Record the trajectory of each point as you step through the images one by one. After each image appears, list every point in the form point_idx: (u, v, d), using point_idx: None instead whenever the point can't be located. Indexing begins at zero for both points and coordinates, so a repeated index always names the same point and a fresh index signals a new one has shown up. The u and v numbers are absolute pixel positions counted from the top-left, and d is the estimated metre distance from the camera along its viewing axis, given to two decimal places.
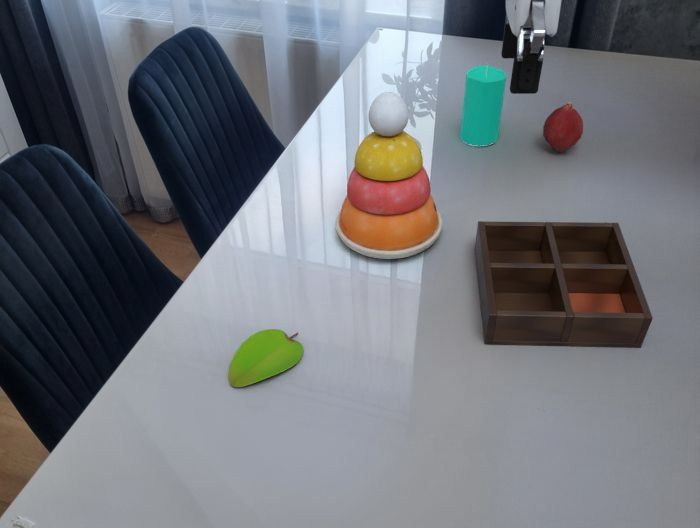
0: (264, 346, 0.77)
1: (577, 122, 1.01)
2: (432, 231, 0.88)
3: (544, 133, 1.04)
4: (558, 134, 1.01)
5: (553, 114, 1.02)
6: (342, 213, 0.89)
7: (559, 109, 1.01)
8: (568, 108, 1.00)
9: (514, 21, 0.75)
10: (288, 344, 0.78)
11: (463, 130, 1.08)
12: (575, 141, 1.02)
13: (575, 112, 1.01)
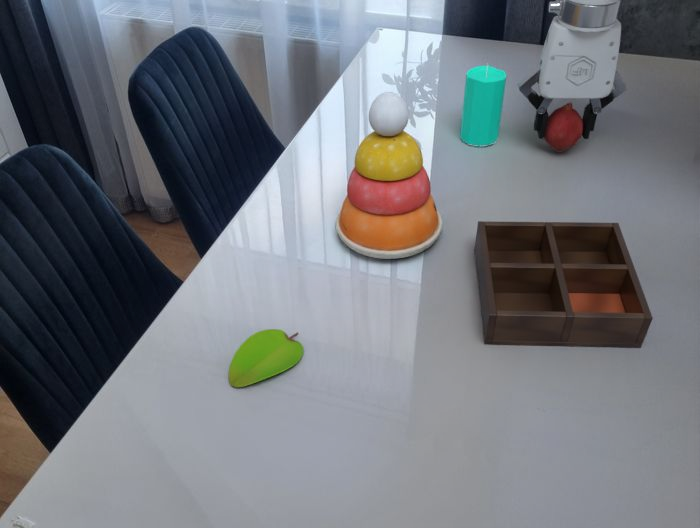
0: (264, 346, 0.77)
1: (577, 122, 1.01)
2: (432, 231, 0.88)
3: None
4: (558, 134, 1.01)
5: (553, 114, 1.02)
6: (342, 213, 0.89)
7: (559, 109, 1.01)
8: (568, 108, 1.00)
9: None
10: (288, 344, 0.78)
11: (463, 130, 1.08)
12: (575, 141, 1.02)
13: (575, 112, 1.01)
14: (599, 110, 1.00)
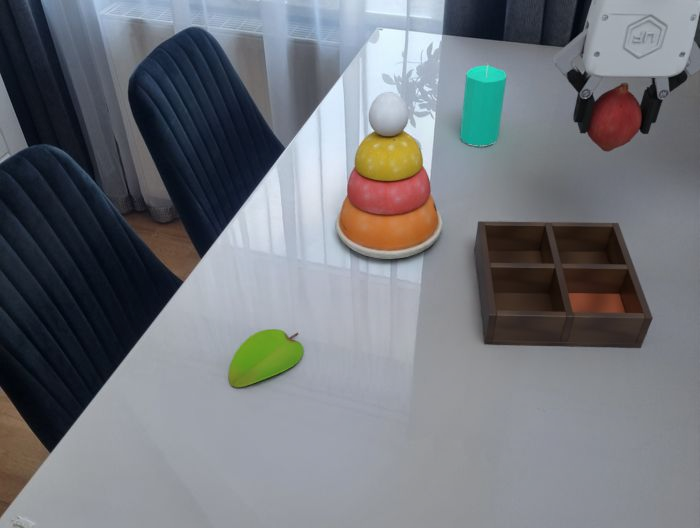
0: (264, 346, 0.77)
1: (635, 111, 0.73)
2: (432, 231, 0.88)
3: None
4: (608, 127, 0.74)
5: (601, 99, 0.74)
6: (342, 213, 0.89)
7: (609, 92, 0.74)
8: (623, 91, 0.73)
9: None
10: (288, 344, 0.78)
11: (463, 130, 1.08)
12: (630, 137, 0.75)
13: (632, 97, 0.73)
14: (666, 94, 0.72)
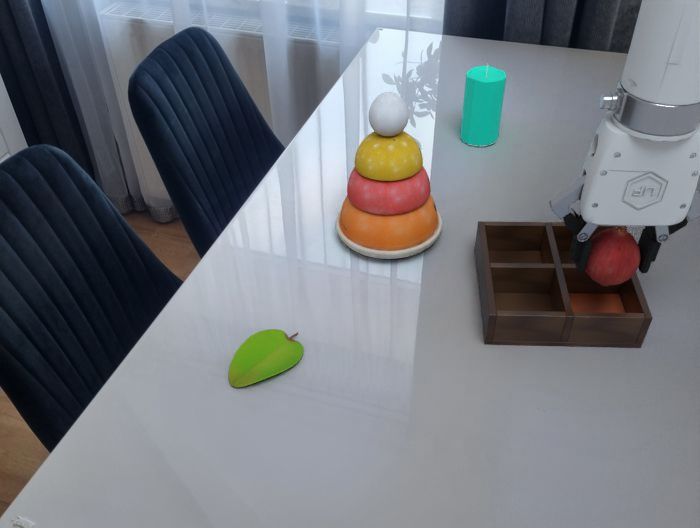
0: (264, 346, 0.77)
1: (633, 253, 0.71)
2: (432, 231, 0.88)
3: None
4: (606, 269, 0.71)
5: (598, 239, 0.72)
6: (342, 213, 0.89)
7: (607, 233, 0.71)
8: (621, 234, 0.70)
9: None
10: (288, 344, 0.78)
11: (463, 130, 1.08)
12: (629, 277, 0.72)
13: (630, 238, 0.71)
14: (666, 238, 0.70)
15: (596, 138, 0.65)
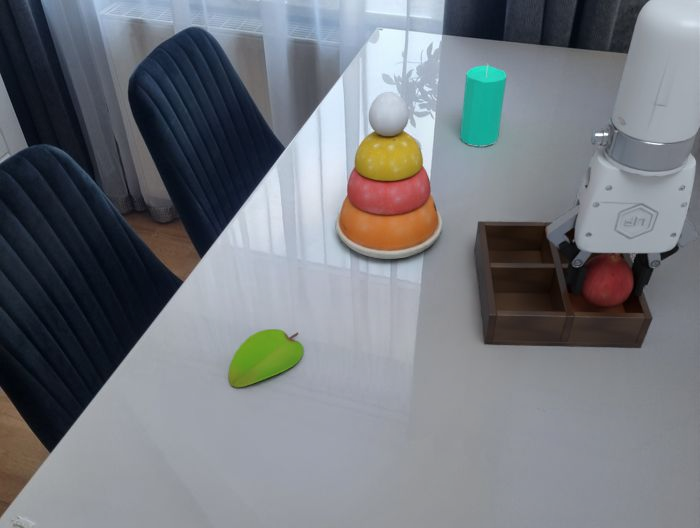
0: (264, 346, 0.77)
1: (627, 278, 0.73)
2: (432, 231, 0.88)
3: None
4: (600, 293, 0.74)
5: (593, 265, 0.74)
6: (342, 213, 0.89)
7: (601, 259, 0.74)
8: (615, 260, 0.73)
9: None
10: (288, 344, 0.78)
11: (463, 130, 1.08)
12: (623, 300, 0.75)
13: (623, 264, 0.73)
14: (658, 263, 0.72)
15: (589, 170, 0.67)
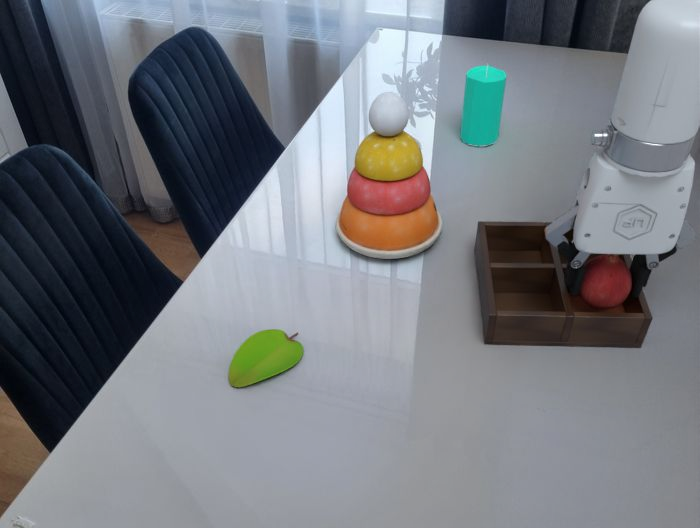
0: (264, 346, 0.77)
1: (625, 279, 0.73)
2: (432, 231, 0.88)
3: None
4: (598, 294, 0.74)
5: (591, 266, 0.74)
6: (342, 213, 0.89)
7: (599, 260, 0.74)
8: (613, 261, 0.73)
9: None
10: (288, 344, 0.78)
11: (463, 130, 1.08)
12: (621, 302, 0.75)
13: (622, 265, 0.73)
14: (656, 265, 0.72)
15: (588, 171, 0.67)
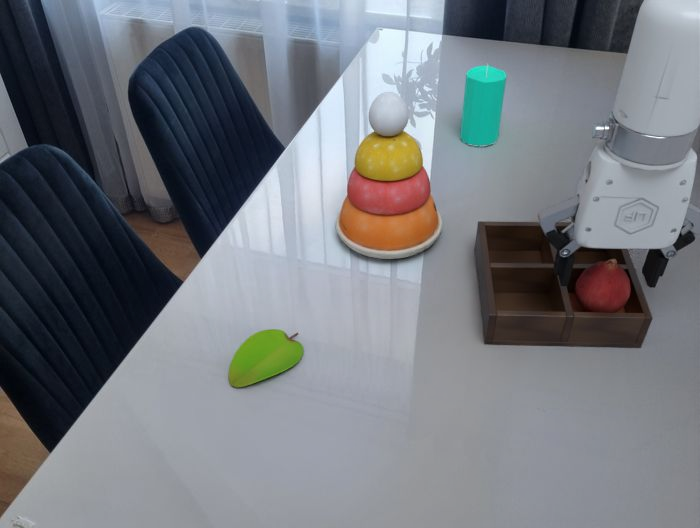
0: (264, 346, 0.77)
1: (623, 286, 0.74)
2: (432, 231, 0.88)
3: (577, 295, 0.77)
4: (597, 301, 0.75)
5: (590, 272, 0.75)
6: (342, 213, 0.89)
7: (598, 267, 0.75)
8: (612, 268, 0.74)
9: None
10: (288, 344, 0.78)
11: (463, 130, 1.08)
12: (620, 308, 0.76)
13: (620, 272, 0.74)
14: (673, 254, 0.71)
15: (589, 165, 0.67)
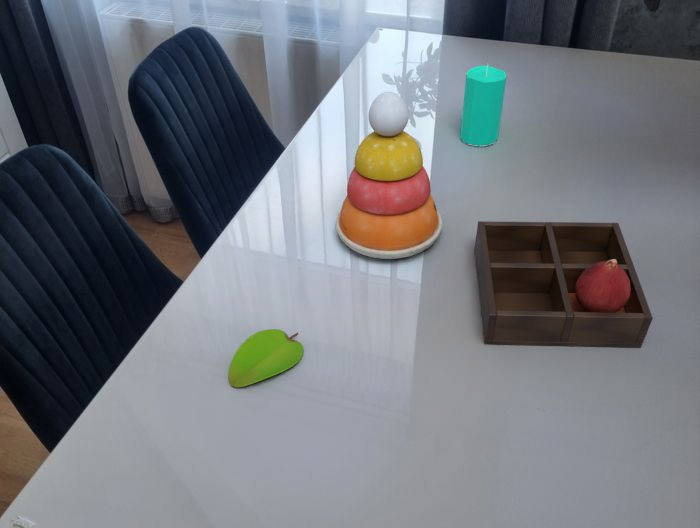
0: (264, 346, 0.77)
1: (624, 286, 0.74)
2: (432, 231, 0.88)
3: (577, 295, 0.77)
4: (597, 301, 0.75)
5: (590, 273, 0.75)
6: (342, 213, 0.89)
7: (598, 267, 0.75)
8: (612, 268, 0.74)
9: None
10: (288, 344, 0.78)
11: (463, 130, 1.08)
12: (620, 308, 0.76)
13: (620, 272, 0.74)
14: None
15: None
